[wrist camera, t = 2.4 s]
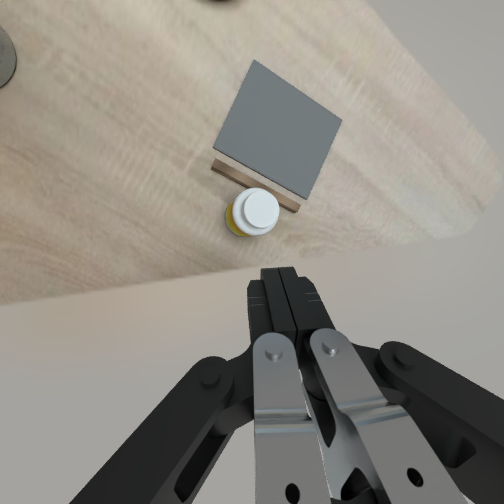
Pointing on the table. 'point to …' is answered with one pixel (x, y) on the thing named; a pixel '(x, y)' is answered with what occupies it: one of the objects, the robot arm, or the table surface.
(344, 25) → the table surface
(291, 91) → the mat
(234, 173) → the rail
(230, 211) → the supplement bottle
